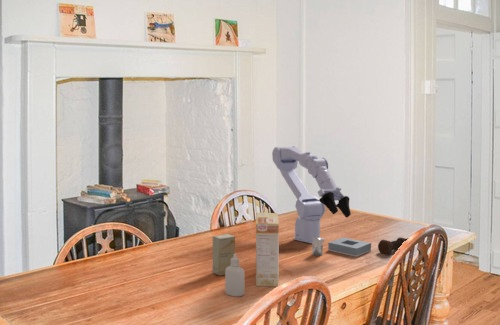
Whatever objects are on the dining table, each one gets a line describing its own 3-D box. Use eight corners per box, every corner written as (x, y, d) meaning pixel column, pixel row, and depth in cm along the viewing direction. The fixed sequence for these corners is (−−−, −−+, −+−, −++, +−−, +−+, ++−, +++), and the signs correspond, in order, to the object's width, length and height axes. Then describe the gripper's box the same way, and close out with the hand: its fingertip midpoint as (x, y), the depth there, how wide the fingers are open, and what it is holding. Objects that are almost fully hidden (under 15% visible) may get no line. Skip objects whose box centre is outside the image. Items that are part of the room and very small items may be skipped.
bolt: (410, 252, 216) (384, 258, 207) (401, 243, 220) (375, 248, 210) (417, 241, 214) (391, 246, 204) (408, 232, 217) (382, 237, 208)
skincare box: (219, 276, 183) (219, 238, 181) (212, 272, 186) (211, 235, 185) (235, 272, 186) (235, 236, 185) (228, 269, 190) (228, 233, 188)
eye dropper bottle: (236, 290, 170) (236, 250, 169) (246, 295, 166) (246, 255, 164) (223, 292, 168) (223, 252, 167) (233, 298, 163) (232, 257, 162)
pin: (310, 254, 207) (310, 238, 206) (316, 252, 209) (316, 236, 208) (318, 256, 204) (319, 240, 203) (324, 254, 207) (324, 238, 206)
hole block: (328, 250, 212) (328, 242, 211) (342, 244, 219) (343, 237, 219) (356, 256, 204) (356, 248, 204) (370, 250, 211) (371, 242, 211)
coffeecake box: (256, 270, 188) (256, 212, 186) (277, 271, 188) (278, 212, 186) (255, 286, 174) (255, 223, 171) (278, 286, 173) (279, 223, 171)
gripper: (322, 174, 206) (337, 204, 198) (346, 181, 216) (361, 210, 208) (308, 186, 209) (323, 216, 201) (333, 193, 219) (348, 222, 211)
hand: (342, 214), depth 205 cm, fingers open, 7 cm apart
